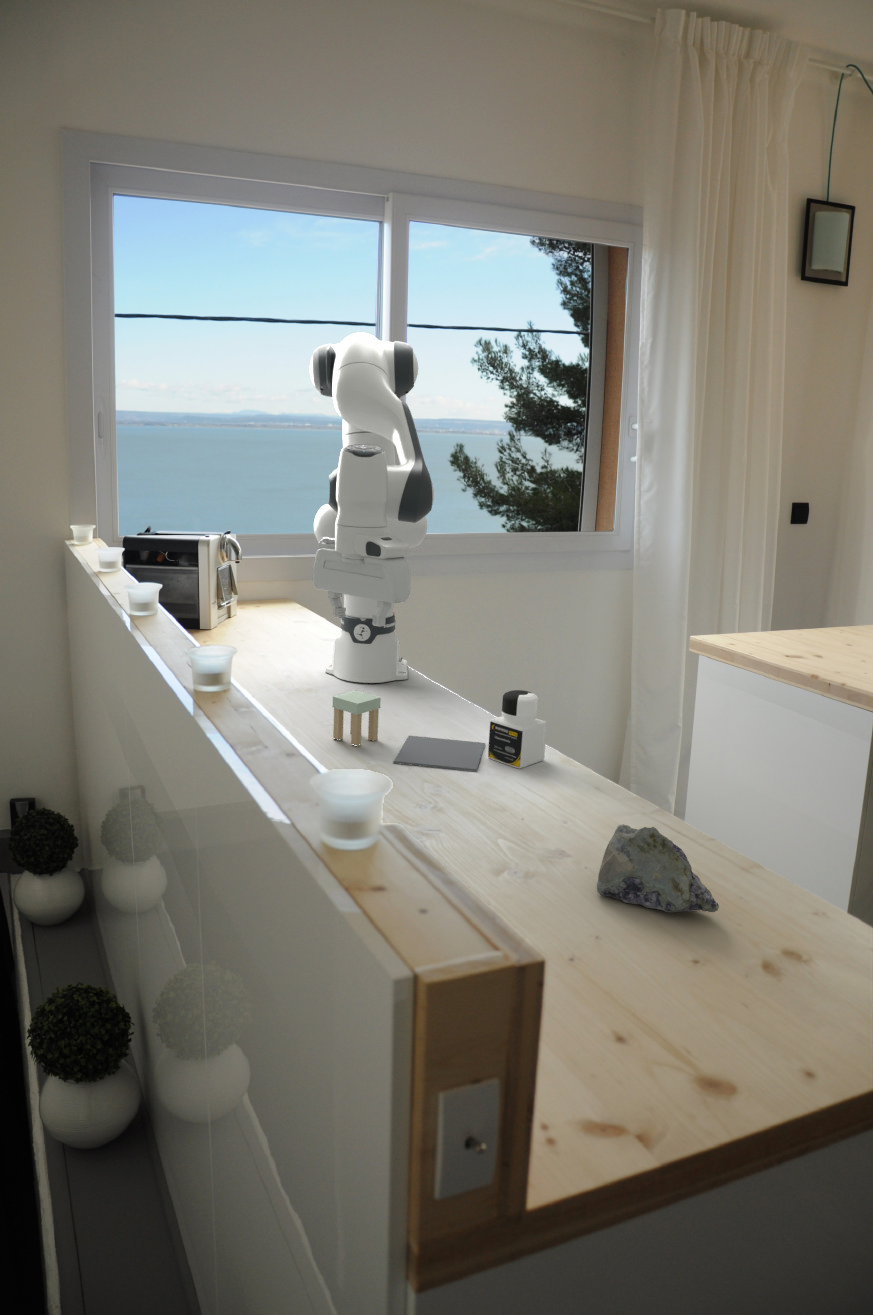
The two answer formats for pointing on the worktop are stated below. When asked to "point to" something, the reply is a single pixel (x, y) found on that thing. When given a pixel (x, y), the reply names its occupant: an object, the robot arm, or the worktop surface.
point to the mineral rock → (651, 873)
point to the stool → (356, 714)
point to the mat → (441, 753)
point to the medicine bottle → (517, 731)
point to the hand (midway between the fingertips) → (358, 621)
